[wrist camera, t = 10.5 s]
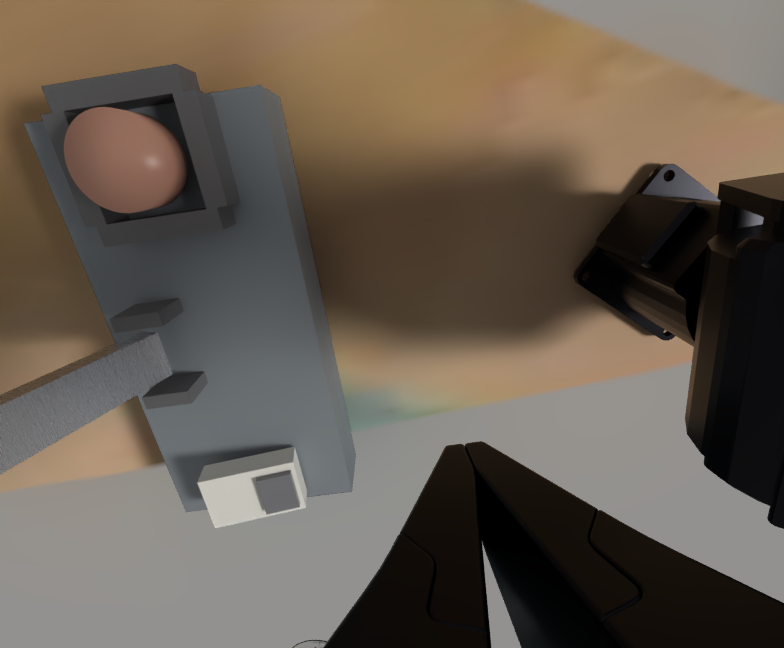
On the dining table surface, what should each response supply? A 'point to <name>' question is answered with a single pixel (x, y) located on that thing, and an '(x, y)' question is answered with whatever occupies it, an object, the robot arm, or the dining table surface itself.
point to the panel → (212, 279)
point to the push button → (125, 159)
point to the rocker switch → (253, 487)
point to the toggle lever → (77, 395)
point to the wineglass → (311, 644)
